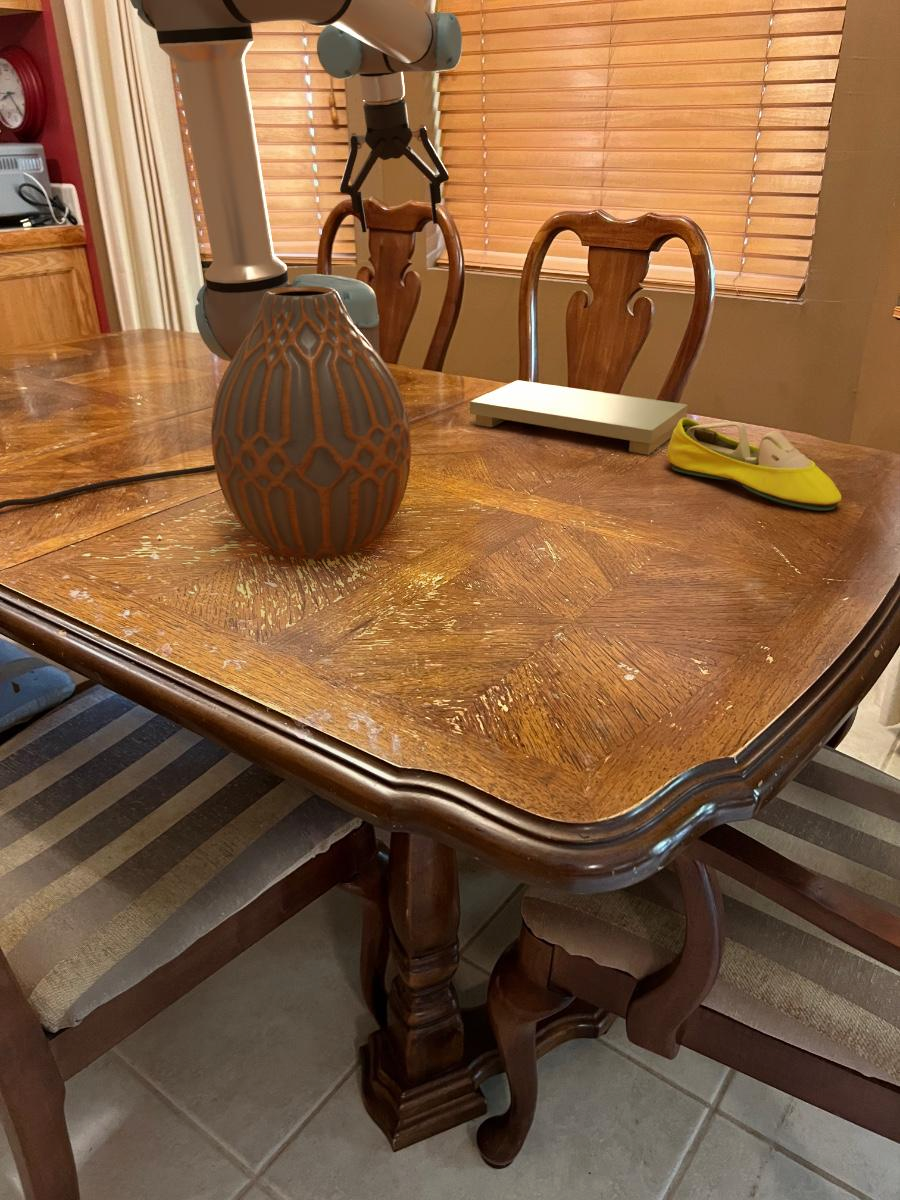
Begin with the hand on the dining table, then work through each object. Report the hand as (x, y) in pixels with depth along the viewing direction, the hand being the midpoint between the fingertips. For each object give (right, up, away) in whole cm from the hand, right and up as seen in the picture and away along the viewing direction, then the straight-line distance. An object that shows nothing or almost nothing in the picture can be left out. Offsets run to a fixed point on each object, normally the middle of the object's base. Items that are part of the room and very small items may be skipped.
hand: (399, 226), depth 164 cm
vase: (-5, -65, -66) cm, 92 cm away
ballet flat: (+48, -57, -52) cm, 91 cm away
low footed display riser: (+30, -44, -28) cm, 60 cm away
